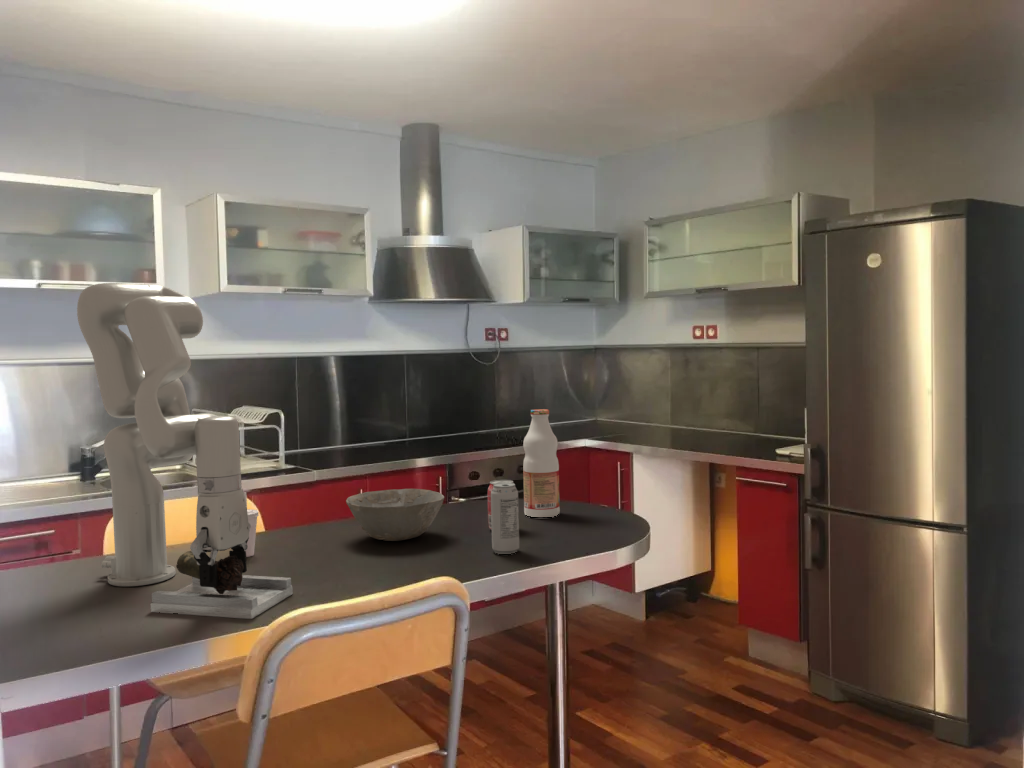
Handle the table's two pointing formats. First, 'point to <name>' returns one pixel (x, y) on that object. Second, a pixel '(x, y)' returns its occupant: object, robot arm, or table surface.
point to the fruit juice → (541, 468)
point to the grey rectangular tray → (224, 598)
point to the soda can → (490, 497)
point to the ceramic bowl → (395, 512)
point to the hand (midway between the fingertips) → (224, 578)
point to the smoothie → (251, 529)
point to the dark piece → (226, 571)
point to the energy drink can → (505, 518)
